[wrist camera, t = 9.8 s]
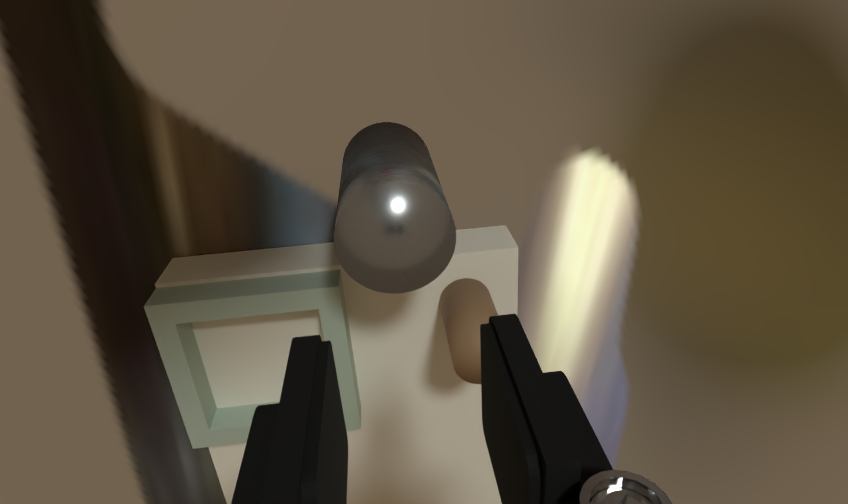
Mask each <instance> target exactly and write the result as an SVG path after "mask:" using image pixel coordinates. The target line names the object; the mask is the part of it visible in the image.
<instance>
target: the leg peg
mask: <svg viewBox="0 0 848 504" xmlns="http://www.w3.org/2000/svg"><path fill="white" fill-rule="evenodd" d="M455 246H456V228H455V225H454V220H453V218H452V215H451V212H450V209H449V207H448V204H447V201H446V198H445V195H444V193H443V190H442V187H441V185H440V182H439V179H438V176H437V173H436V170H435V168H434V165H433V162H432V159H431V157H430V154H429V151H428V149H427V146H426V145H425V143H424V141H423V140H422V139H421V137H420V136H419V135H418V134H417V133H415V132H414V131H413V130H411V129H410V128H408V127H406V126H404V125H401V124H397V123H391V122H382V123H376V124H373V125H370V126H368V127H366V128H364V129H363V130H361V131H360V132H358V133H357V134H356V135H355V136H354V137H353V138H352V139H351V141H350V142H349V144H348V146H347V148H346V150H345V153H344V158H343V165H342V173H341V182H340V189H339V197H338V206H337V214H336V222H335V230H334V248H335V253H336V256H337V258H338V261H339V263H340V264H341V266H342V268H343V269H344V270H345V272H346V273H347V274H348V275H349V276H350V277H351V278H352V279H353V280H355V281H356V282H357V283H359V284H360V285H362V286H364V287H366V288H368V289H371V290H374V291H377V292H382V293H390V294H398V293H406V292H410V291H414V290H417V289H420V288H422V287H424V286H426V285H428V284H429V283H431V282H432V281H434V280H435V279H436V278H437V277H438V276H439V275H440V274H441V273H442V272H443V271H444V270H445V269H446V267H447V266H448V264H449V262H450V260H451V258H452V256H453V253H454V250H455Z"/></svg>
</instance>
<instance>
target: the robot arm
mask: <svg viewBox="0 0 848 504" xmlns="http://www.w3.org/2000/svg"><path fill="white" fill-rule="evenodd" d="M480 347H481V395H482V425H483V432H484V437H485V441H486V444H487V448H488V452H489V456H490V460H491V464H492V468H493V471H494V475H495V479H496V483H497V487H498V491H499V495H500V498H501V502H502V504H672V502H671V501H670V499H669V498H668V496H667V494H666V493H665V492H664V491H663V490H662V489H661V488H659V487H658V486H657V485H656V484H655V483H654V482H652V481H650V480H649V479H647V478H645V477H643V476H641V475H639V474H635V473H632V472H629V471H621V470H613V469H612V467H611V465H610V463H609V461H608V459H607V457H606V455H605V453H604V451H603V449H602V447H601V445H600V443H599V441H598V439H597V437H596V435H595V433H594V431H593V429H592V427H591V425H590V423H589V421H588V419H587V417H586V415H585V413H584V411H583V409H582V407H581V405H580V403H579V401H578V399H577V397H576V395H575V393H574V391H573V389H572V387H571V385H570V383H569V381H568V379H567V377H566V376H565V374H564V373H563V372H562V371H556V372H547V373H543V372H542V370H541V368H540V366H539V363H538V361H537V359H536V357H535V355H534V352H533V350H532V348H531V346H530V343H529V341H528V339H527V337H526V334H525V332H524V330H523V328H522V325H521V323H520V321H519V319H518V317H517V315H516V314H507V315H497V316H490V317H489V323H487V324H481V325H480ZM347 476H348V438H347V431H346V425H345V420H344V414H343V408H342V402H341V396H340V390H339V384H338V379H337V373H336V367H335V361H334V355H333V349H332V344H331V341H322V340H321V336H320V335H312V336H302V337H294V338H292V342H291V347H290V352H289V357H288V362H287V367H286V372H285V377H284V382H283V387H282V392H281V397H280V402H279V403H276V404H267V405H258V406H257V407H256V409H255V412H254V415H253V419H252V423H251V427H250V431H249V435H248V439H247V443H246V447H245V451H244V454H243V458H242V462H241V466H240V470H239V474H238V478H237V482H236V486H235V490H234V494H233V498H232V502H231V504H347Z"/></svg>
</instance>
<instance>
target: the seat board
mask: <svg viewBox="0 0 848 504" xmlns="http://www.w3.org/2000/svg"><path fill="white" fill-rule="evenodd" d="M155 286H156V289H155V290H154V292H153V293H152V295H151V296H150V298H149V299H148V301H147V302H146V304H145V305H144V309H145V312H146V315H147V317H148V320H149V323H150V326H151V329H152V332H153V335H154V338H155V341H156V343H157V346H158V349H159V352H160V355H161V358H162V361H163V364H164V366H165V369H166V372H167V375H168V378H169V381H170V384H171V387H172V390H173V392H174V395H175V398H176V401H177V404H178V407H179V410H180V413H181V416H182V418H183V421H184V424H185V427H186V430H187V433H188V436H189V439H190V442H191V444H192V447H193V449H195V448H203V447H208V448H209V451H210V454H211V457H212V460H213V463H214V466H215V469H216V472H217V475H218V478H219V481H220V484H221V487H222V490H223V493H224V496H225V499H226V502H227V504H231V502H232V498H233V494H234V490H235V486H236V482H237V478H238V474H239V470H240V466H241V462H242V458H243V454H244V451H245V447H246V443H247V439H248V435H249V431H250V427H251V423H252V419H253V415H254V412H255V409H256V407H257V406H258V405H267V404H276V403H279V402H280V397H281V392H282V387H283V382H284V377H285V372H286V367H287V362H288V357H289V352H290V347H291V342H292V338H294V337H302V336H312V335H320V336H321V340H322V341H331V344H332V349H333V355H334V361H335V367H336V373H337V379H338V384H339V390H340V396H341V402H342V408H343V414H344V420H345V425H346V431H347V438H348V476H347V504H502V502H501V498H500V495H499V491H498V487H497V483H496V479H495V475H494V471H493V468H492V464H491V460H490V456H489V452H488V448H487V444H486V441H485V437H484V432H483V425H482V395H481V347H480V325H481V324H487V323H489V317H490V316H497V315H507V314H516V315H517V299H518V246H517V244H516V243H515V241H514V239H513V237H512V236H511V234H510V232H509V230H508V229H507V227H506V225H503V226H492V227H482V228H472V229H462V230H456V246H455V250H454V253H453V256H452V258H451V260H450V262H449V264H448V266H447V267H446V269H445V270H444V271H443V272H442V273H441V274H440V275H439V276H438V277H437V278H436V279H435V280H434V281H432V282H431V283H429V284H428V285H426V286H424V287H422V288H420V289H417V290H414V291H410V292H406V293H398V294H390V293H382V292H377V291H374V290H371V289H368V288H366V287H364V286H362V285H360V284H359V283H357V282H356V281H355V280H353V279H352V278H351V277H350V276H349V275H348V274H347V273H346V272H345V270H344V269H343V268H342V266H341V264H340V263H339V261H338V258H337V256H336V253H335V248H334V242H330V243H320V244H310V245H299V246H289V247H279V248H269V249H259V250H249V251H239V252H228V253H218V254H208V255H198V256H188V257H178V258H172V260H171V261H170V263H169V264H168V266H167V267H166V269H165V270H164V271H163V273H162V274H161V276H160V277H159V279H158V280H157V282H156V283H155Z"/></svg>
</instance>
